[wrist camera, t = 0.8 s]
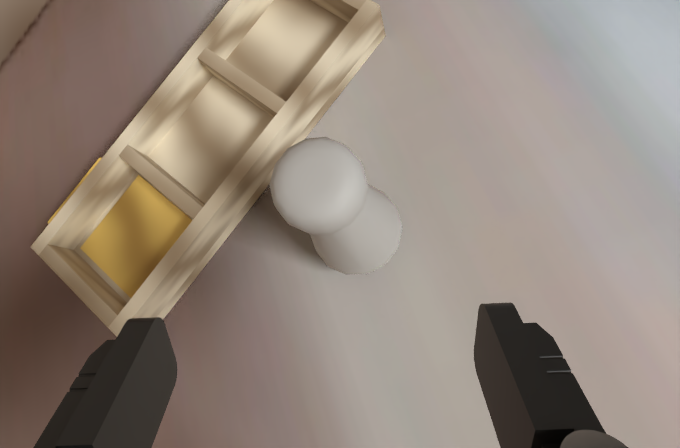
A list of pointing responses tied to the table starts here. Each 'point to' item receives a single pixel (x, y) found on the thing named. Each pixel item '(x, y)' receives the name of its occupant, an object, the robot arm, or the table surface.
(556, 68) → the table surface
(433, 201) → the table surface
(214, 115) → the tray
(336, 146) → the salt shaker
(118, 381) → the robot arm
